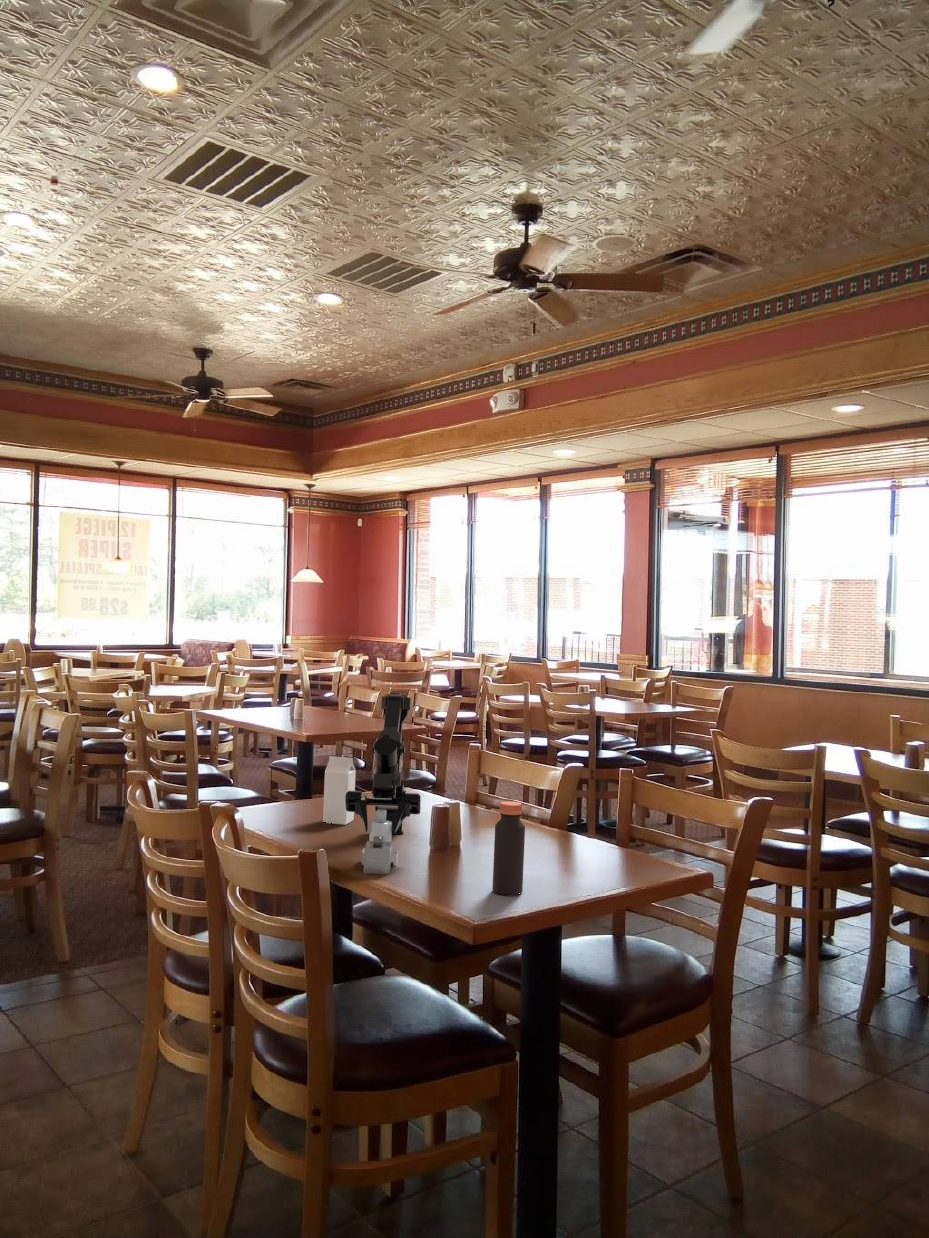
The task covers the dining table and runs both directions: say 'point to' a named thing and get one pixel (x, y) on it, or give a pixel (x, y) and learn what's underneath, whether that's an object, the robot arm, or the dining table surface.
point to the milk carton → (338, 790)
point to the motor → (378, 856)
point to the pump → (381, 826)
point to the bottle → (509, 850)
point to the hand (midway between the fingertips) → (380, 831)
